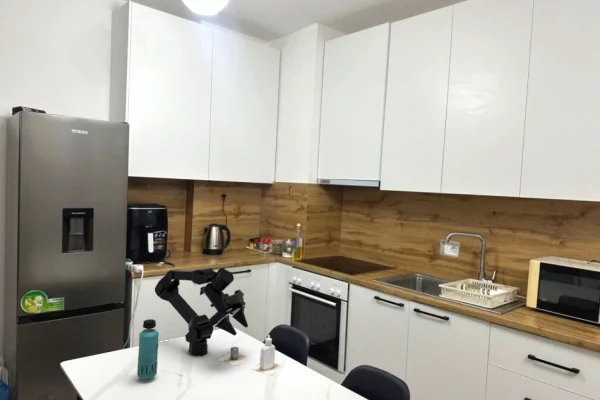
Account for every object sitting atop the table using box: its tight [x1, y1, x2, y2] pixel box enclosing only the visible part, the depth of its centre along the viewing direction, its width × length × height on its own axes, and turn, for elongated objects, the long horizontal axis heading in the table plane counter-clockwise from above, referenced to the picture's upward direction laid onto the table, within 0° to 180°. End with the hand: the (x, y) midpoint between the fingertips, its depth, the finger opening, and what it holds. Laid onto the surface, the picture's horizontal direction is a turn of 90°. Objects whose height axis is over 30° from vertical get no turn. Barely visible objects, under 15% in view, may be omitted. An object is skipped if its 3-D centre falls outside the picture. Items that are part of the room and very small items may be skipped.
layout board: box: [217, 351, 284, 376], centre depth 150 cm, size 24×12×1 cm, turn 65°
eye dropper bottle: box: [259, 334, 276, 370], centre depth 148 cm, size 4×6×12 cm
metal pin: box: [230, 346, 240, 360], centre depth 154 cm, size 3×3×4 cm
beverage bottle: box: [136, 318, 160, 380], centre depth 136 cm, size 6×7×20 cm
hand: (241, 330), depth 149 cm, fingers open, 9 cm apart
